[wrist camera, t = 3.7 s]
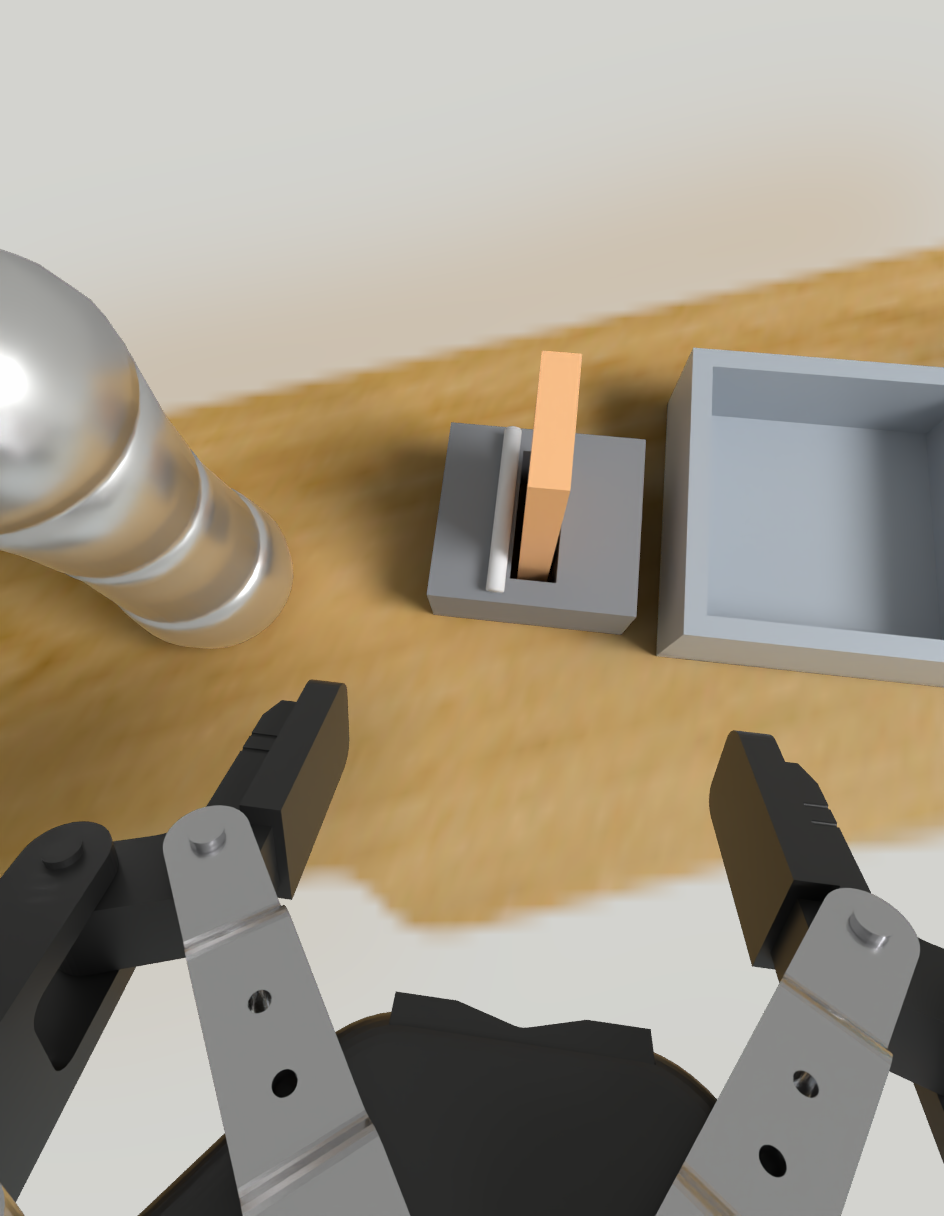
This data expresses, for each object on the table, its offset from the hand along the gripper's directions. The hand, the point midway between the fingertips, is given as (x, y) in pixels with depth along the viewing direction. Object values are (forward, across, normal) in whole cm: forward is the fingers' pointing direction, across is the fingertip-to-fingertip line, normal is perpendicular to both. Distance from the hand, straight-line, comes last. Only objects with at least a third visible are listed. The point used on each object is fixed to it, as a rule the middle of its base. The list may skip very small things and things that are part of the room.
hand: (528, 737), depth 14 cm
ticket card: (+16, 0, +2) cm, 16 cm away
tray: (+17, -12, +1) cm, 20 cm away
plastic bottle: (+13, +13, +5) cm, 19 cm away
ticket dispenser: (+16, 0, +2) cm, 16 cm away
